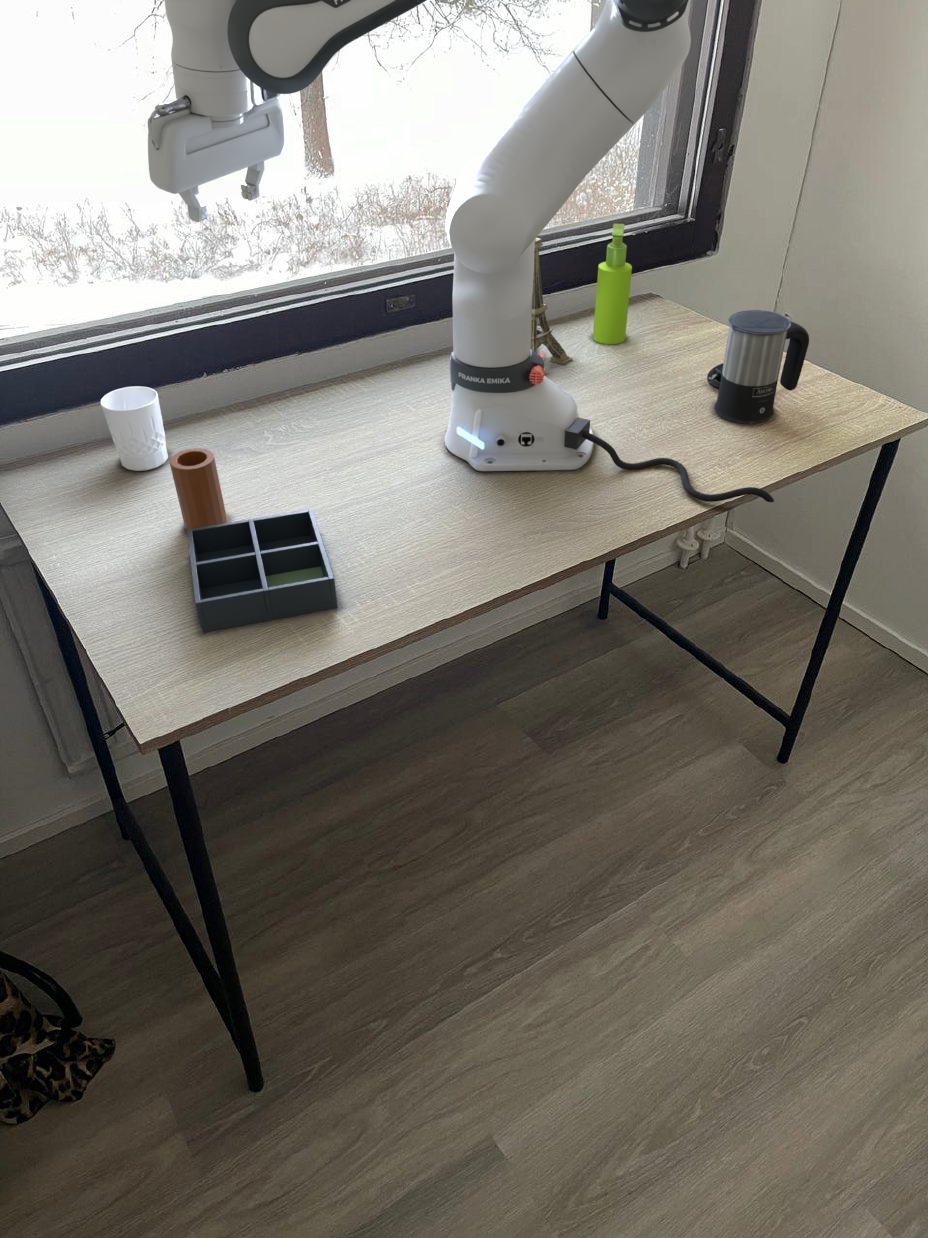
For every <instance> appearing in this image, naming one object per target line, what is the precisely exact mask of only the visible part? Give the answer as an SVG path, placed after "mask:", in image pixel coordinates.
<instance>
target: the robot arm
mask: <svg viewBox="0 0 928 1238" xmlns="http://www.w3.org/2000/svg"><path fill="white" fill-rule="evenodd" d="M429 1H430V0H164V8H165V16H166V19H167V22H168V24H169V27H170V31H171V36H172V44H171V51H170V59H171V69H172V75H173V85H174V90H175V91H174V93H175V99H173V100H171V101H168V102H161V103H158V104H157V105H155V107H154V110H153V111H152V112H151V113H150V115H149V117H148V119H147V159H148V160H147V162H148V173H149V180H150V181H151V183H152V184H153V185H154V186H155V187H156V188H158V189H159V190H161V191H164V192H168V193H170V194H173V195H176V194H178V195H179V196H180V198H181V199H182V201H183V202H184V203H185V205H186V206H187V215H188V218H189V220H191V221H193V222H196V223H200V222H202V221H205V220H206V219H208V214H207V212H208V210H207V205H206V204H204V203H200V201H199V200H198V198H197V195H199V186H202V185H204V184H206V183H210V182H212V181H215V180H217V179H220V178H222V177H225V176H228V175H230V174H233V173H236V172H238V171H241V170H243V169H247V170H246V174H245V178H244V181H243V182H242V183H240V190H241V192H240V193H241V197H242V198H243V199H244V200H247V201H253V200H256V199H258V198H259V197H260V184H261V181H262V177H263V175H264V172H265V161H267V160H271V159H274V158H276V157H279V156H281V155H282V153H283V151H284V149H285V146H286V140H287V139H286V138H287V137H286V135H287V134H286V119H285V118H286V117H285V109H284V108H285V107H284V104H283V102H282V100H281V98H280V97H281V96H282V95H290V94H296V93H299V92H300V91H303V90H304V89H306V88H308V87H309V86H310V85H311V84H312V83H313V82H315V80H316V79H317V78H318V77H319V76H320V74H321V73H322V71H323V70H324V69H325V68H326V66H327V65H328V64H329V62H330V61H331V60H332V59H333V57H334V56H335V55H336V54H337V53H338V52H339V51H340V50H342V49H344V47H346V46H347V45H349V44H351V43H352V42H353V41H356V40H358V39H360V38H361V37H363V36H365V35H367V34H369V33H371V32H372V31H374V30H376V29H377V28H380V27H381V26H383V25H385V24H387V23H389V22H391V21H393V20H395V19H396V18H399V17H400V16H402V15H404V14H405V13H408V12H409V11H411V10H413V9H415V8H417V7H419V6H421V5H423V4H425V3H426V2H429ZM688 3H689V0H605V4H604V7H603V9H602V12H601V14H600V16H599V18H597V21H596V22H595V24H594V25H593V28H592V29H591V30H590V31H589V32H588V33H587V35H585V36H584V38H583V39H581V40H580V42H579V43H578V44H577V45H576V46H575V48H573V50H571V52H570V53H569V54H568V55H567V56H566V57H565V59H564V60H563V61H562V62H561V63H560V64H559V66H558V67H557V68H556V69H555V70H554V71H553V72H552V73H551V74H550V76H549V77H548V78H547V79H546V81H544V83H542V85H541V86H540V87H539V88H538V90H536V92H535V93H534V94H533V95H532V97H531V98H530V99H529V100H528V101H527V102H526V104H525V105H524V106H523V107H522V108H521V110H520V112H518V114H517V115H516V117H515V118H514V120H513V121H512V122H511V124H510V125H509V126H508V128H507V129H506V130H505V131H504V133H502V135H501V137H500V138H499V139H498V140H497V142H496V143H495V144H494V146H492V148H491V150H489V151H487V152H485V153H481V154H480V155H478V156H476V157H474V158H473V159H471V160H470V161H469V162H468V163H467V164H466V165H465V167H463V169H462V170H461V173H460V175H459V176H458V178H457V182H456V184H455V187H454V189H453V193H452V197H451V199H450V201H449V203H448V204H449V205H448V207H447V211H446V216H445V217H446V218H445V229H446V235H447V239H448V242H449V244H450V247H451V249H452V252H453V253H454V256H453V278H452V280H453V281H452V295H451V296H452V297H451V298H452V300H451V301H452V302H451V303H452V304H451V305H452V344H453V345H452V346H453V347H452V351H451V353H450V358H449V381H450V388H451V391H452V399H451V408H450V415H449V421H448V426H447V429H446V432H445V436H444V445H445V447H446V449H447V450H448V451H449V452H450V453H451V454H453V455H454V456H456V457H458V458H460V459H462V460H464V461H465V462H467V463H468V464H469V465H470V467H472V468H473V469H474V470H475V471H479V472H514V471H515V472H516V471H517V472H520V471H524V472H525V471H526V472H527V471H572V470H574V471H575V470H578V469H580V468H581V467H583V466H584V465H585V464H586V463H587V462H588V461H589V459H590V458H591V456H592V454H593V450H594V444H595V445H597V446H598V447H600V448H602V449H603V450H604V451H606V452H607V453H608V455H609V457H610V458H611V460H612V462H613V463H614V464H615V466H617V467H618V468H620V469H621V470H625V471H637V470H643V469H647V468H651V467H656V466H669V467H672V468H674V469H676V470H677V471H678V472H679V475H680V478H681V483H682V487H683V489H684V491H685V493H687V494H688V495H689V496H691V498H693V499H695V500H698V501H702V502H705V503H706V502H707V503H717V502H722V501H727V500H731V499H735V498H738V497H742V496H749V495H751V496H752V495H753V496H757V497H760V498H761V499H763V500H764V501H765V502H767V503H774V502H775V499H774V497H773V496H772V495H771V494H770V493H768V492H767V491H766V490H764V489H763V488H759V487H754V486H747V487H746V486H745V487H741V488H737V489H733V490H729V491H725V492H720V493H711V494H710V493H703V492H700V491H698V490H696V489H695V488H694V487H693V486H692V485H691V483H690V479H689V473H688V471H687V468H686V466H684V465H683V464H682V463H681V462H679V461H678V460H675V459H673V458H668V457H657V458H652V459H649V460H644V461H641V462H635V463H630V462H625V461H624V460H622V459H621V458H620V456H619V455H618V453H617V451H616V449H615V448H614V447H613V446H612V445H611V444H610V443H608V442H607V441H606V440H604V439H602V438H600V437H599V436H597V435H594V432H593V431H592V428H591V420H590V419H588V418H583V417H580V413H579V409H578V406H577V403H576V401H575V399H574V396H572V395H571V394H570V393H569V392H567V391H565V390H564V389H563V388H561V387H560V386H559V385H557V384H556V383H554V382H553V381H552V380H550V378H548V377H547V376H545V375H546V370H545V358H544V357H545V354H544V351H543V350H541V351H540V354H539V353H538V352H537V353H538V354H537V353H536V352H535V351H534V350H532V349H531V324H532V294H533V272H534V249H535V238H538V236H539V235H540V234H541V233H542V231H543V230H544V229H545V228H546V226H548V224H549V223H550V222H551V221H552V220H553V218H554V217H555V216H556V215H557V213H558V212H559V211H560V209H561V208H562V207H563V206H564V205H565V203H566V202H567V201H568V200H569V198H570V197H571V196H572V194H573V193H574V192H575V191H576V189H577V188H578V186H579V185H580V184H581V183H582V181H583V180H584V179H585V178H586V177H587V176H588V174H590V172H591V171H592V170H593V169H594V168H595V167H596V166H597V165H598V164H599V163H600V161H602V159H603V158H604V157H605V156H606V155H608V153H609V152H610V151H611V150H612V149H613V148H614V147H615V146H616V145H617V143H619V142H620V140H621V139H622V138H623V137H625V135H626V134H627V133H628V132H629V131H630V130H631V129H632V128H633V127H634V126H635V125H636V124H637V123H638V122H639V121H640V119H642V118H643V116H644V115H645V114H646V113H647V112H648V111H649V110H650V108H651V107H652V106H653V105H654V103H655V102H656V101H657V100H658V98H660V96H661V95H662V93H664V91H665V90H666V88H667V87H668V86H669V84H670V83H671V81H672V80H673V79H674V77H675V76H676V75H677V73H678V72H679V70H680V69H681V67H682V66H683V64H684V62H685V61H686V59H687V58H688V56H689V53H690V50H691V46H692V45H691V44H692V43H691V42H692V37H691V30H690V26H689V22H688V20H687V17H686V15H685V12H686V9H687V6H688Z"/></svg>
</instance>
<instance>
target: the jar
mask: <svg viewBox="0 0 928 1238" xmlns="http://www.w3.org/2000/svg"><path fill="white" fill-rule="evenodd" d="M169 466H170V470H171V474H172V479H173V483H174V486H175V487H174V488H175V492H176V496H177V499H178V504H179V507H180V512H181V517H182V521H183V524H184V527H185V530H186V531H187V529H193V528H199V527H205V526H211V525H217V524H223V523H228V517H227V511H226V506H225V501H224V497H223V492H222V486H221V482H220V478H219V477H220V476H219V472H218V469H217V462H216V458H215V454H214V453H213V452H212V451H211V450H210V449H207V448H201V447H200V448H199V447H195V448H194V447H193V448H187V449H183V450H180V451H178V452H176V453H174V454H173V455H172V456H171V457H170V459H169Z"/></svg>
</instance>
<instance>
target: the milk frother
mask: <svg viewBox="0 0 928 1238" xmlns="http://www.w3.org/2000/svg"><path fill="white" fill-rule="evenodd" d="M728 324H729V327H728V332H727V333H728V334H727V338H726V346H725V350H724V351H725V352H724V358H723V362H722V363H719V364H717V365H715V366H714V367H712V368H711V369H710V370H709V371H708V373H707V376H706V380H707V383H708V385H710V386H711V387H712V388H714V389H715V390H718V393H717V397H716V398H717V399H716V402H715V403H714V407H713V410H714V411H715V413H716V414H717V415H718V416H719V417H721V418H722V419H725V420H727V421H730V422H734V423H737V424H738V423H739V424H746V425H747V424H758V423H759V424H760V423H763V422H766V421H768V420H770V419H771V418H772V417H773V416H774V412H775V409H774V406H775V399H776V393H777V388H778V382H779V384H780V385H781V386H782V387H783V389H786V390H788V391H794V390H795V389H796V388H797V386H798V383H799V380H800V376H801V374H802V369H803V367H804V362H805V360H806V356H807V352H808V349H809V344H810V335H809V333H808V330H806V329H805V328H804V327H803V326H802V325H800V324H799V323H796V322H794V321H791V320H790V318H788V317H786V316H785V315H783V314H780V313H777V312H775V311H769V310H762V309H759V310H758V309H749V310H748V309H746V310H742V311H737V312H735V313H732V314H731V315H729V317H728ZM787 340H789V341H788V346H787V348H786V349H787V350H786V354H785V357H784V358H785V359H784V363H783V366H782V360H783V356H784V350H785V345H786V341H787ZM781 366H782V369H781ZM780 371H781V372H780ZM780 373H781V375H780ZM779 376H780V379H779Z"/></svg>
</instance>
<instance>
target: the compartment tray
mask: <svg viewBox="0 0 928 1238" xmlns="http://www.w3.org/2000/svg"><path fill="white" fill-rule="evenodd" d="M186 535H187V542H188V543H187V544H188V553H189V563H190V569H191V570H190V571H191V579H192V587H193V595H194V597H193V598H194V604H195V609H196V612H197V616H198V620H199V624H200V629H201V632H202V633H207V632H214V631H219V630H224V629H225V630H226V629H231V628H235V627H241V626H247V625H251V624H256V623H262V622H267V621H272V620H278V619H283V618H289V617H294V616H299V615H304V614H309V613H310V614H311V613H315V612H321V611H326V610H331V609H336V608H338V599H337V589H336V582H335V581H336V580H335V577H334V574H333V571H332V567H331V563H330V561H329V558H328V555H327V551H326V548H325V545H324V542H323V539H322V535H321V532H320V529H319V525H318V523H317V520H316V516H315V513H314V510H313V509H312V508H310V509H302V510H297V511H291V512H284V513H279V514H272V515H266V516H261V517H255V518H250V519H242V520H237V521H230V522H227V523H223V524H217V525H211V526H205V527H199V528H193V529H187V530H186Z"/></svg>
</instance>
